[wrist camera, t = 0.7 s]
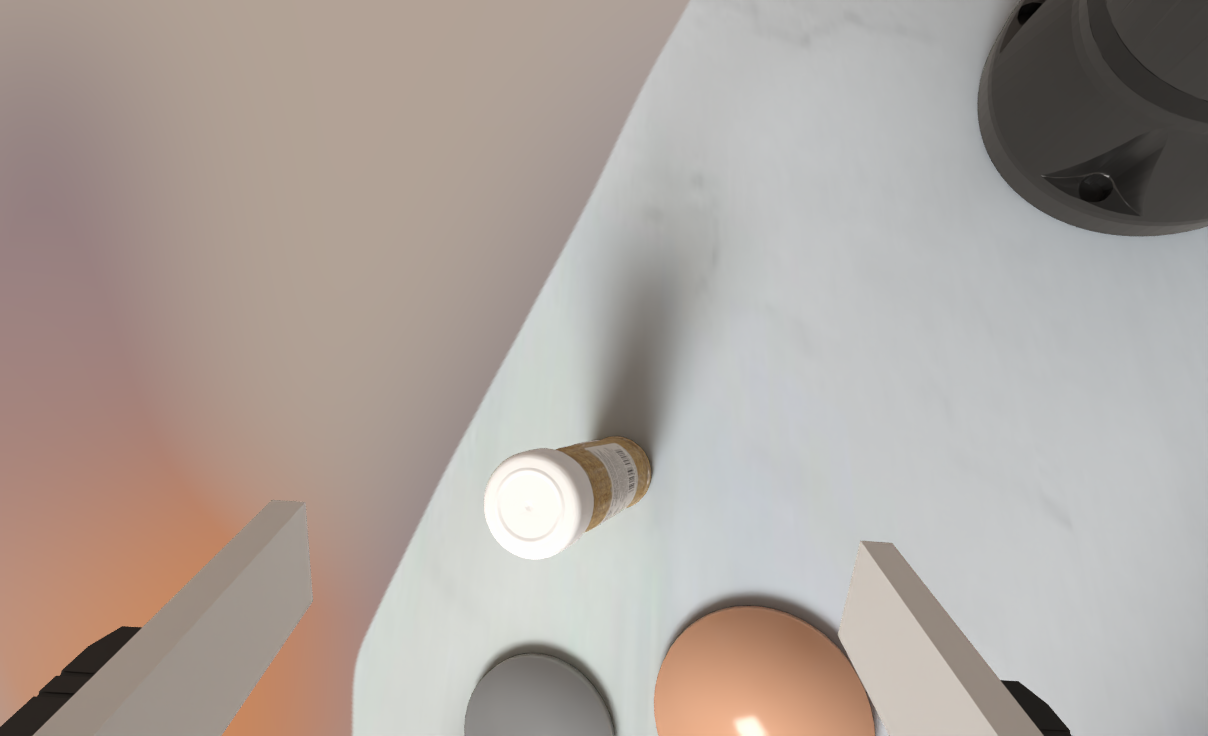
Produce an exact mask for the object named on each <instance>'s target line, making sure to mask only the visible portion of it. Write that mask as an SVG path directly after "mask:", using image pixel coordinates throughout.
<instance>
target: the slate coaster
mask: <svg viewBox="0 0 1208 736" xmlns="http://www.w3.org/2000/svg"><path fill="white" fill-rule="evenodd" d="M464 731H465V736H615V734H614V728H613V724H612V721H611V717H610V714H609V712H608V709H607V707H606V705H605V703H604V701H603V699H602V697H601V696H600V694H599V693H598V691H597V690H596V688H595V687H594V686H593V684H592V683H591V682H590V681H589V680H588V679H587V678H586V677H585V676H584V675H583V674H582V673H581V672H580V671H578V670H577V669H576V668H574V667H573V666H571V665H570V664H568V663H566V662H564V661H563V660H560V659H558V658H555V657H553V656H549V655H544V654H536V653H529V654H521V655H516V656H513V657H511V658H508V659H506V660H504V661H502V662H501V663H499V664H498V665H497V666H495V667H494V668H493V669H492V670H490V671H489V672H488V673H487V674H486V675H485V676H484V677H483V678H482V679H481V680H480V682H479V683H478V685H477V686H476V688H475V689H474V691H473V693H472V695H471V697H470V700H469V703H468V706H467V711H466V715H465V725H464Z"/></svg>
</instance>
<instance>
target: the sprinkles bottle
mask: <svg viewBox="0 0 1208 736" xmlns="http://www.w3.org/2000/svg"><path fill="white" fill-rule="evenodd" d="M650 481H651V467H650V464H649V460H648V457H647V456H646V454H645V452H644V451H643V450H642V448H641V447H640V446H638V445H637V444H636V443H634V442H633V441H632V440H629V439H627V438H624V437H620V436H614V437H607V438H605V439H602V440H594V441H588V442H583V443H578V444H574V445H572V446H568V447H564V448H558V449H556V450H553V449H547V448H540V449H534V450H529V451H525V452H521V453H518V454H515V455H513V456H511V457H509V458H507V459H506V460H505V461H503V462H502V463H501V464H500V465H499V466H498V467H497V468H496V469H495V471H494V472H493V474H492V475H491V477H490V479H489V481H488V484H487V486H486V490H485V495H484V511H485V517H486V521H487V524H488V526H489V528H490V531H491V532H492V534H493V536H494V537H495V539H496V540H497V541H498V542H499V543H500V544H501V545H502V546H503V547H504V548H505V549H506V550H508V551H509V552H511V553H513V554H515V555H517V556H519V557H522V558H527V559H543V558H548V557H551V556H553V555H555V554H557V553H559V552H561V551H563V550H564V549H566V548H568V547H569V546H571V545H572V544H574V543H575V542H576V541H577V540H578V539H580V537H581V536H582V535H583V534H584V533H585V532H587V531H589V530H591V529H593V528H595V527H597V526H598V525H600V524H601V523H603V522H605V521H606V520H608V519H610V518H611V517H613V516H615V515H616V514H618V513H620V512H621V511H623V510H624V509H625V508H627V507H630V506H632V505H634V504H636V503H637V502H639V501H640V499H641V498H642V497H643V496H644V495H645V494H646V492H647V490H648V488H649V485H650Z"/></svg>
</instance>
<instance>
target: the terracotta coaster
mask: <svg viewBox="0 0 1208 736" xmlns="http://www.w3.org/2000/svg"><path fill="white" fill-rule="evenodd" d="M654 712H655V721H656V727H657V731H658V735H659V736H875V729H874V722H873V717H872V712H871V707H870V703H869V700H868V697H867V694H866V691H865V688H864V686H863V684H862V682H861V680H860V678H859V676H858V674H857V672H856V671H855V669H854V667H853V666H852V664H851V663H850V661H849V660H848V659H847V657H846V656H845V655H844V654H843V652H842V651H841V650H840V649H839V648H838V647H837V646H836V645H835V644H834V643H833V642H832V641H831V640H830V639H829V638H828V637H827V636H826V635H824V634H823V633H822V632H820V631H819V630H818V629H817V628H815V627H814V626H812V625H810V624H809V623H807V622H805V621H804V620H802V619H800V618H798V617H795V616H793V615H791V614H789V613H786V612H782V611H779V610H776V609H772V608H766V607H761V606H735V607H729V608H725V609H720V610H717V611H715V612H712V613H709V614H707V615H705V616H704V617H702V618H700V619H698V620H696V621H695V622H694V623H692V624H691V625H690V626H689V627H687V628H686V629H685V630H684V631H683V632H682V633H681V634H680V635H679V636H678V638H677V639H676V640H675V642H674V643H673V644H672V646H671V647H670V649H669V651H668V653H667V655H666V657H665V659H664V661H663V663H662V665H661V668H660V671H659V674H658V677H657V682H656V686H655V696H654Z"/></svg>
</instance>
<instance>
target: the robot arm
mask: <svg viewBox="0 0 1208 736" xmlns="http://www.w3.org/2000/svg"><path fill="white" fill-rule="evenodd" d="M978 120H979V126H980V132H981V136H982V139H983V142H984V145H985V148H986V150H987V153H988V155H989V157H990V159H991V161H992V162H993V164H994V166H995V167H996V169H997V171H998V172H999V173H1000V175H1001V176H1002V177H1003V179H1004V180H1005V181H1006V182H1007V183H1008V184H1009V186H1010V187H1011V188H1012V189H1013V190H1014V191H1015V192H1017V193H1018V194H1019V195H1020V196H1021V197H1022V198H1023V199H1025V200H1026V201H1027V202H1029V203H1030V204H1031V205H1033V206H1034V207H1036V208H1037V209H1039V210H1041V211H1042V212H1044V213H1046V214H1048V215H1050V216H1052V217H1054V218H1056V219H1058V220H1060V221H1063V222H1065V223H1067V224H1070V225H1073V226H1076V227H1079V228H1083V229H1086V230H1090V231H1095V232H1100V233H1105V234H1112V235H1122V236H1159V235H1168V234H1175V233H1181V232H1187V231H1191V230H1195V229H1200V228H1203V227H1207V226H1208V0H1021V1H1020V3H1019V4H1018V5H1017V7H1016V8H1015V10H1014V11H1013V12H1012V14H1011V16H1010V17H1009V19H1008V21H1007V22H1006V24H1005V26H1004V27H1003V29H1002V31H1001V33H1000V35H999V37H998V38H997V40H996V42H995V44H994V46H993V48H992V50H991V52H990V54H989V56H988V59H987V61H986V64H985V67H984V70H983V73H982V77H981V81H980V86H979V92H978ZM312 601H313V596H312V583H311V570H310V557H309V545H308V531H307V518H306V506H305V502H295V501H280V500H271V502H269V503H268V504H267V505H266V506H265V507H264V508H263V509H262V511H260V512H259V513H258V514H257V515H256V516H255V517H254V518H253V519H252V520H251V521H250V522H249V523H248V524H247V525H246V526H245V527H244V528H243V529H242V530H241V531H240V532H239V533H238V534H237V535H236V536H235V537H234V538H233V539H232V540H231V541H230V542H229V543H228V544H227V545H226V546H225V547H224V548H223V549H222V550H221V551H220V552H219V553H218V554H217V555H216V556H215V557H214V558H213V559H212V560H210V561H209V563H208V564H206V565H205V566H204V567H203V568H202V569H201V570H200V572H198V573H197V574H196V575H195V576H194V577H193V578H192V579H191V580H190V581H189V582H188V583H187V584H186V585H185V586H184V587H183V588H182V589H181V590H180V591H179V592H178V593H177V594H176V595H175V596H174V597H173V598H172V599H171V600H170V601H169V602H168V603H167V604H166V605H165V606H164V607H163V608H162V609H161V610H160V611H159V612H158V613H157V614H156V615H155V616H154V617H153V618H152V619H151V620H150V621H149V622H147V624H145V625H144V627H142V628H141V627H125V626H124V627H123V626H122V627H120V628H119V629H117V630H115V631H114V632H112V633H110V634H109V635H107V636H105V637H104V638H102V639H100V640H98V641H97V642H95V643H93V644H92V645H90V646H88V647H87V648H86V649H85V650H84V651H83V652H82V653H81V654H79V655H78V656H77V657H76V658H75V659H74V660H73V661H72V662H71V663H70V664H68V665H67V666H66V667H65V668H64V669H63V670H62V672H61V675H60V676H55V677H54V678H53V679H52V680H51V681H50V682H49V683H48V684H47V685H46V686H45V687H43V688H42V689H41V690H40V691H39V695H38V696H37V697H33V698H31V699H30V700H29V701H28V702H27V703H26V704H25V705H24V706H23V707H22V708H21V709H19V711H17V712H16V713H15V714H14V715H13V716H12V717H11V718H10V719H9V720H7V721H6V722H5V723H4V724H3V725H2V726H1V727H0V736H221V735H222V734H223V733H224V731H225V730H226V728H227V727H228V725H229V724H230V722H231V721H232V719H233V718H234V716H235V715H236V713H237V712H238V710H239V709H240V708H241V706H242V705H243V703H244V701H245V700H246V699H247V697H248V696H249V694H250V693H251V691H252V690H253V688H254V687H255V685H256V684H257V682H258V681H259V680H260V678H261V676H262V675H263V674H264V672H265V670H266V669H267V668H268V666H269V665H270V663H271V662H272V660H273V659H274V657H275V656H276V654H277V653H278V651H279V650H280V649H281V647H282V646H283V644H284V643H285V641H286V640H287V638H288V637H289V635H290V634H291V632H292V631H293V630H294V628H295V627H296V625H297V624H298V622H299V621H300V619H301V618H302V616H303V615H304V613H305V612H306V610H307V609H308V607H309V606H310V604H311V603H312ZM838 637H839V638H840V640H841V642H842V644H843V646H844V648H845V650H846V652H847V654H848V656H849V658H850V660H851V662H852V664H853V666H854V668H855V670H856V672H857V674H858V676H859V678H860V680H861V681H862V683H863V685H864V687H865V689H866V691H867V693H868V695H869V697H870V699H871V701H872V703H873V705H874V707H875V709H876V711H877V713H878V715H879V717H880V719H881V721H882V723H883V724H884V726H885V728H886V730H887V732H888V734H889V736H1071V734H1070V730H1069V729H1068V728H1067V727H1066V725H1065V724H1064V723H1063V722H1062V721H1061V719H1060V718H1059V717H1058V716H1057V715H1056V714H1055V712H1054V711H1053V710H1052V709H1051V708H1050V706H1049V705H1048V704H1047V703H1045V702H1044V701H1043V700H1041V699H1040V698H1039V697H1038V696H1036V695H1035V694H1034V693H1033V692H1031V691H1030V690H1029V689H1027V688H1026V687H1025V686H1024V685H1022V684H1021V683H1020V682H1019V681H1004V680H1000V679H999V678H998V677H997V676H996V674H995V673H994V672H993V671H992V669H991V668H990V667H989V665H988V664H987V663H986V662H985V660H984V659H983V658H982V657H981V655H980V654H979V653H978V651H977V650H976V649H975V648H974V646H973V645H972V644H971V643H970V641H969V640H968V639H967V638H966V636H965V635H964V634H963V632H962V631H961V630H960V629H959V627H958V626H957V625H956V624H955V622H954V621H953V620H952V618H951V617H950V616H949V615H948V613H947V612H946V611H945V610H944V608H943V607H942V606H941V604H940V603H939V602H938V601H937V599H936V598H935V597H934V596H933V594H932V593H931V592H930V590H929V589H928V588H927V587H926V585H925V584H924V583H923V582H922V580H921V579H920V578H919V577H918V575H917V574H916V573H915V571H914V570H913V569H912V568H911V566H910V565H909V564H908V563H907V561H906V560H905V559H904V557H903V556H902V555H901V554H900V552H899V551H898V550H897V549H896V547H895V546H894V545H893V543H885V542H871V541H860V545H859V549H858V553H857V557H856V562H855V566H854V570H853V574H852V578H851V582H850V587H849V591H848V595H847V599H846V603H845V607H844V611H843V616H842V620H841V624H840V628H839V632H838Z"/></svg>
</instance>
